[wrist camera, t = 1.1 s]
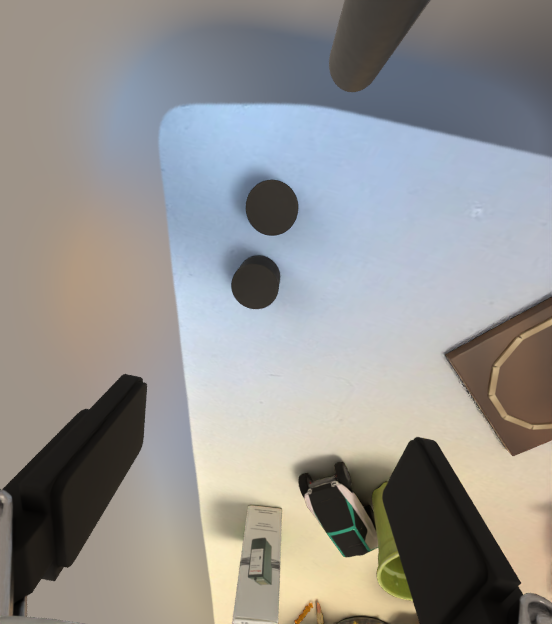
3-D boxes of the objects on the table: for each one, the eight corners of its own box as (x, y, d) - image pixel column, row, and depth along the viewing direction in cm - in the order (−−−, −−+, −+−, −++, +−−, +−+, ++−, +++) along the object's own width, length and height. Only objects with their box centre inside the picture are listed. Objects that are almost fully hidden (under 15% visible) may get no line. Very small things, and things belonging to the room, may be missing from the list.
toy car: (336, 525, 40) (342, 570, 36) (297, 469, 37) (298, 512, 32) (376, 514, 39) (388, 560, 34) (340, 455, 35) (347, 498, 30)
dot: (262, 246, 26) (258, 253, 23) (288, 280, 27) (288, 291, 24) (229, 272, 27) (221, 282, 24) (256, 303, 28) (251, 317, 25)
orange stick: (315, 604, 48) (310, 598, 48) (312, 610, 47) (307, 604, 48) (299, 624, 51) (294, 618, 52) (295, 630, 50) (291, 624, 51)
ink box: (278, 545, 43) (273, 664, 32) (245, 541, 43) (229, 659, 32) (283, 507, 40) (279, 626, 29) (247, 503, 40) (230, 620, 29)
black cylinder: (278, 170, 24) (276, 167, 21) (306, 211, 25) (308, 213, 22) (242, 202, 25) (234, 203, 22) (270, 239, 26) (267, 246, 23)
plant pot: (433, 465, 35) (475, 546, 27) (433, 515, 38) (470, 600, 30) (356, 472, 36) (374, 551, 28) (362, 520, 40) (380, 603, 32)
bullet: (318, 632, 50) (317, 623, 51) (324, 631, 50) (323, 623, 51) (315, 607, 47) (314, 598, 48) (321, 606, 47) (320, 597, 48)
